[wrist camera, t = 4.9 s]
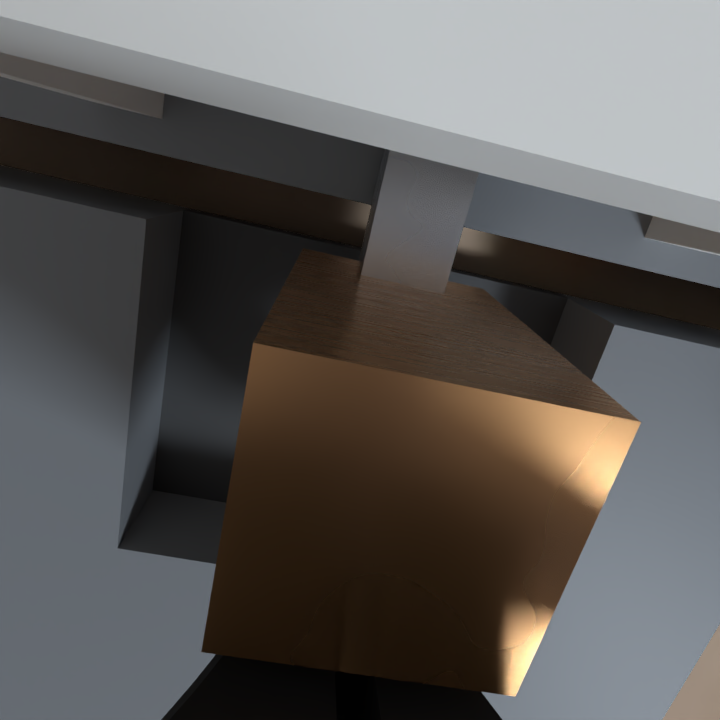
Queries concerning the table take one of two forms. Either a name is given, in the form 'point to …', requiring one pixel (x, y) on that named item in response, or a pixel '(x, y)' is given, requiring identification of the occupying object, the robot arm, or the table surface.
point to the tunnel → (426, 83)
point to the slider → (407, 462)
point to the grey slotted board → (224, 407)
